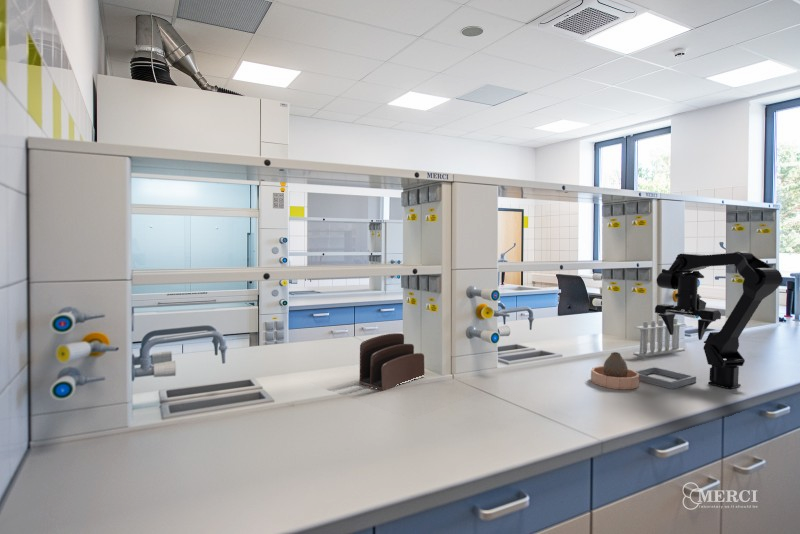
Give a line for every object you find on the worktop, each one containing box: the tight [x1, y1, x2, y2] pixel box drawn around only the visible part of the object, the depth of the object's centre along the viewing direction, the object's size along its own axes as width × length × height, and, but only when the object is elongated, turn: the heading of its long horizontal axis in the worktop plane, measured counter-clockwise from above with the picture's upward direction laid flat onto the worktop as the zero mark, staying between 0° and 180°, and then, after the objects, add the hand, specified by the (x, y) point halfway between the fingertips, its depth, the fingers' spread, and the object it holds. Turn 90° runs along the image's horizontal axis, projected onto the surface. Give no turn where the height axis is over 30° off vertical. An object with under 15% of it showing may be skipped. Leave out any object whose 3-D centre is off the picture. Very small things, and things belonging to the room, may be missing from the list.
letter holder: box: [358, 332, 425, 392], centre depth 149 cm, size 10×20×14 cm, turn 138°
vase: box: [602, 351, 629, 378], centre depth 149 cm, size 7×7×9 cm
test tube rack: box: [633, 317, 686, 358], centre depth 190 cm, size 25×4×13 cm, turn 116°
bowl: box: [590, 365, 640, 390], centre depth 149 cm, size 13×13×3 cm
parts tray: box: [634, 366, 697, 390], centre depth 152 cm, size 14×14×2 cm
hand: (685, 337), depth 160 cm, fingers open, 9 cm apart
